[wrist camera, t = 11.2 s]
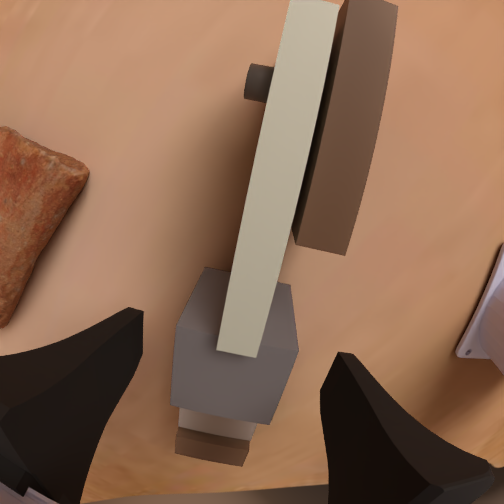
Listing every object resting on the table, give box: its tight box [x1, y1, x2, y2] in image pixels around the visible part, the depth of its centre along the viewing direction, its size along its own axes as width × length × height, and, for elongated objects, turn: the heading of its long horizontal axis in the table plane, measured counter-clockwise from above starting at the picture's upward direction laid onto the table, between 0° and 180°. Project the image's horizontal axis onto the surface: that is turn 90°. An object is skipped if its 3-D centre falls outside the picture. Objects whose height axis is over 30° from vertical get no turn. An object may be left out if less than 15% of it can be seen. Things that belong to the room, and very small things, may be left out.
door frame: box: [175, 0, 398, 467], centre depth 12 cm, size 4×22×6 cm, turn 168°
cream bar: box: [216, 0, 339, 358], centre depth 10 cm, size 2×10×6 cm, turn 168°
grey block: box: [170, 267, 299, 425], centre depth 13 cm, size 4×4×5 cm
